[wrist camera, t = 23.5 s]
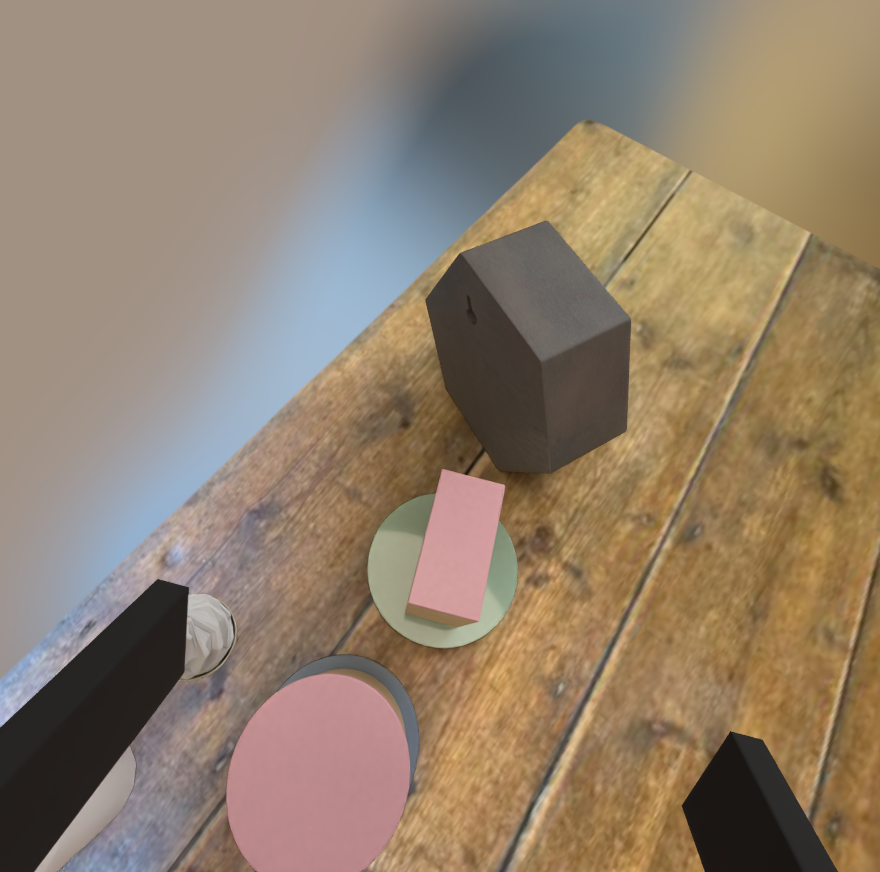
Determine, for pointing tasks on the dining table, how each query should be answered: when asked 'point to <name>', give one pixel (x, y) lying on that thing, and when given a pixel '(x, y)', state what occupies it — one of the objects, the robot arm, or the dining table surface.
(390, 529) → the plate
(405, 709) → the cake
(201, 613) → the ice cream cone
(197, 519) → the dining table surface
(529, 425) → the brown hexagonal block
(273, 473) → the dining table surface
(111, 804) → the foam cup
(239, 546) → the dining table surface
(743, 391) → the dining table surface
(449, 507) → the cake slice
